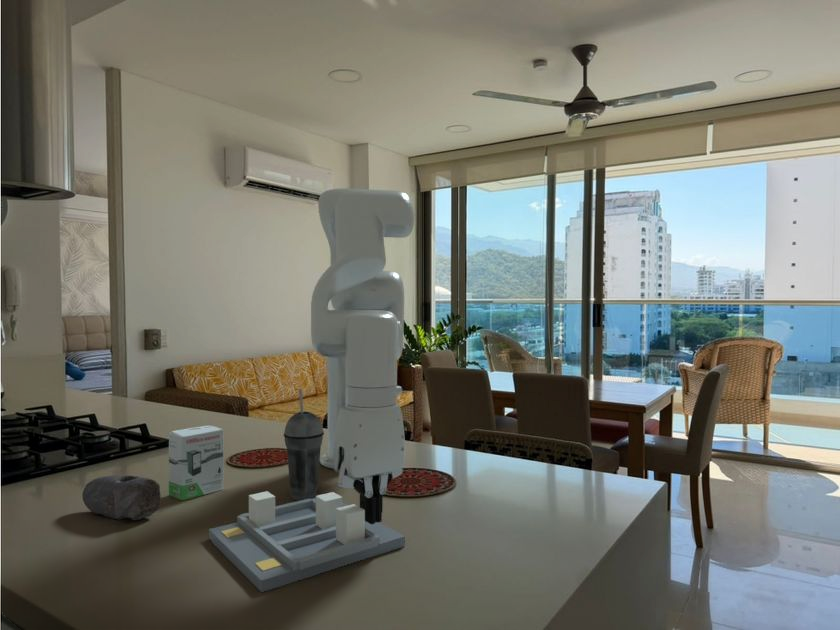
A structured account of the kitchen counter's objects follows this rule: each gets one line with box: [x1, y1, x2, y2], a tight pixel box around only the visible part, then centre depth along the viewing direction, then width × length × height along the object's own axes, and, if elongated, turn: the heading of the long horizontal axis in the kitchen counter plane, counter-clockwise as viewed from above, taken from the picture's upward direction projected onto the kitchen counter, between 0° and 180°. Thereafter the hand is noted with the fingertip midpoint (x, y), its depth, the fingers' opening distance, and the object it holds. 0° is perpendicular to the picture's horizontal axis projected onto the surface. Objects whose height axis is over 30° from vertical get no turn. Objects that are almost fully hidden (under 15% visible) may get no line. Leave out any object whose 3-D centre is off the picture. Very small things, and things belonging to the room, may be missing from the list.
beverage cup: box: [283, 388, 325, 501], centre depth 106 cm, size 7×7×20 cm
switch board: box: [208, 498, 406, 593], centre depth 87 cm, size 22×21×2 cm
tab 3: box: [336, 503, 365, 545], centre depth 84 cm, size 3×3×4 cm
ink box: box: [168, 425, 224, 501], centre depth 108 cm, size 9×5×12 cm, turn 140°
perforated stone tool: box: [81, 474, 162, 521], centre depth 97 cm, size 15×5×7 cm, turn 68°
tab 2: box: [315, 491, 344, 529], centre depth 89 cm, size 3×3×4 cm
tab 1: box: [248, 490, 276, 527], centre depth 89 cm, size 3×3×4 cm
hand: (371, 520), depth 86 cm, fingers closed
